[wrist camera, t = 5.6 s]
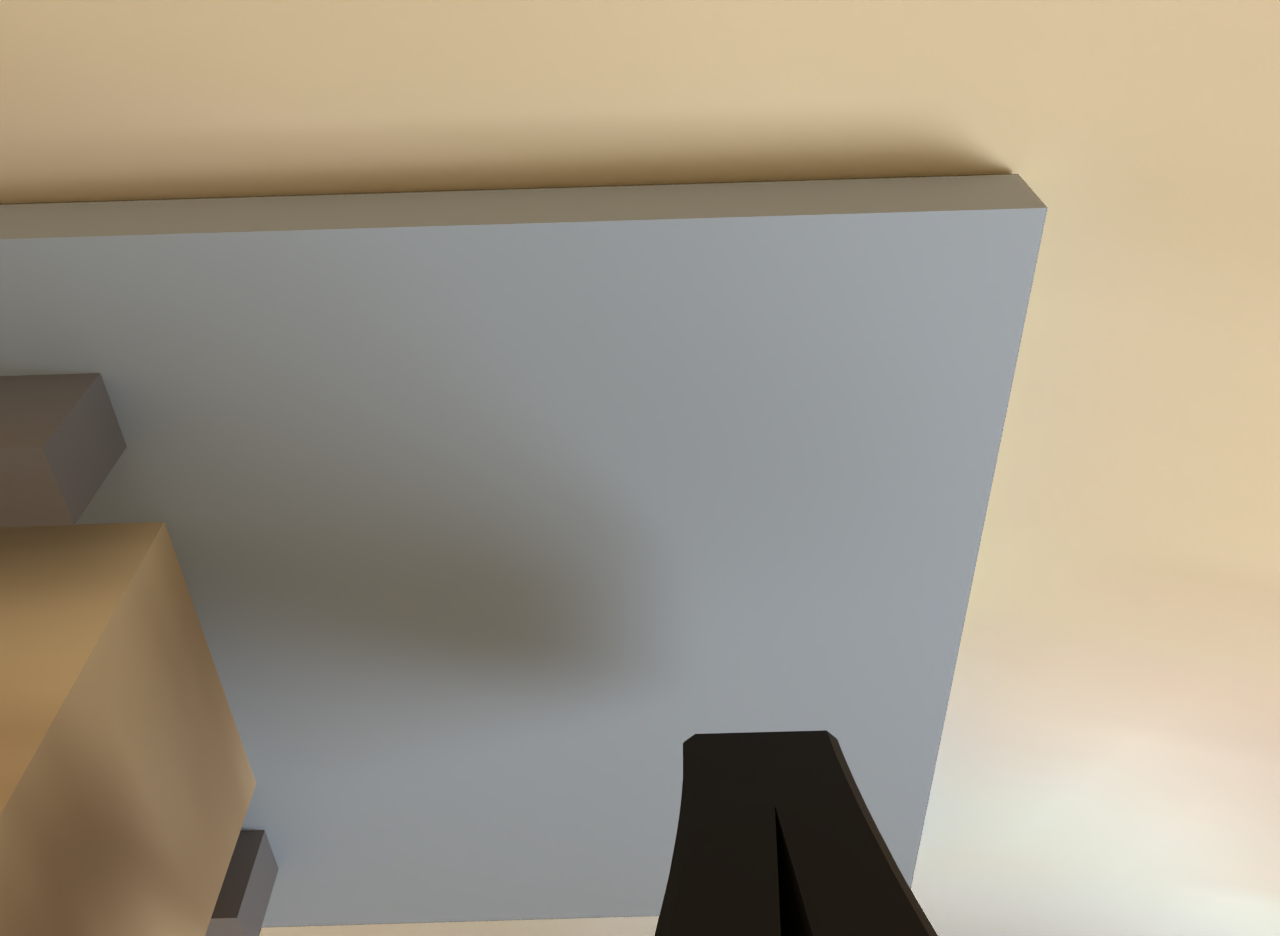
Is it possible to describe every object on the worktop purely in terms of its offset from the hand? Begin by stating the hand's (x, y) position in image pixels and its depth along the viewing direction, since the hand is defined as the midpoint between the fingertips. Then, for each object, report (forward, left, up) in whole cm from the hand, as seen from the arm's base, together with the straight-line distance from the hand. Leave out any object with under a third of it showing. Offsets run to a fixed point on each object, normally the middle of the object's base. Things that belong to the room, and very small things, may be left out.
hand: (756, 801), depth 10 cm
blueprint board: (0, +5, -3) cm, 6 cm away
